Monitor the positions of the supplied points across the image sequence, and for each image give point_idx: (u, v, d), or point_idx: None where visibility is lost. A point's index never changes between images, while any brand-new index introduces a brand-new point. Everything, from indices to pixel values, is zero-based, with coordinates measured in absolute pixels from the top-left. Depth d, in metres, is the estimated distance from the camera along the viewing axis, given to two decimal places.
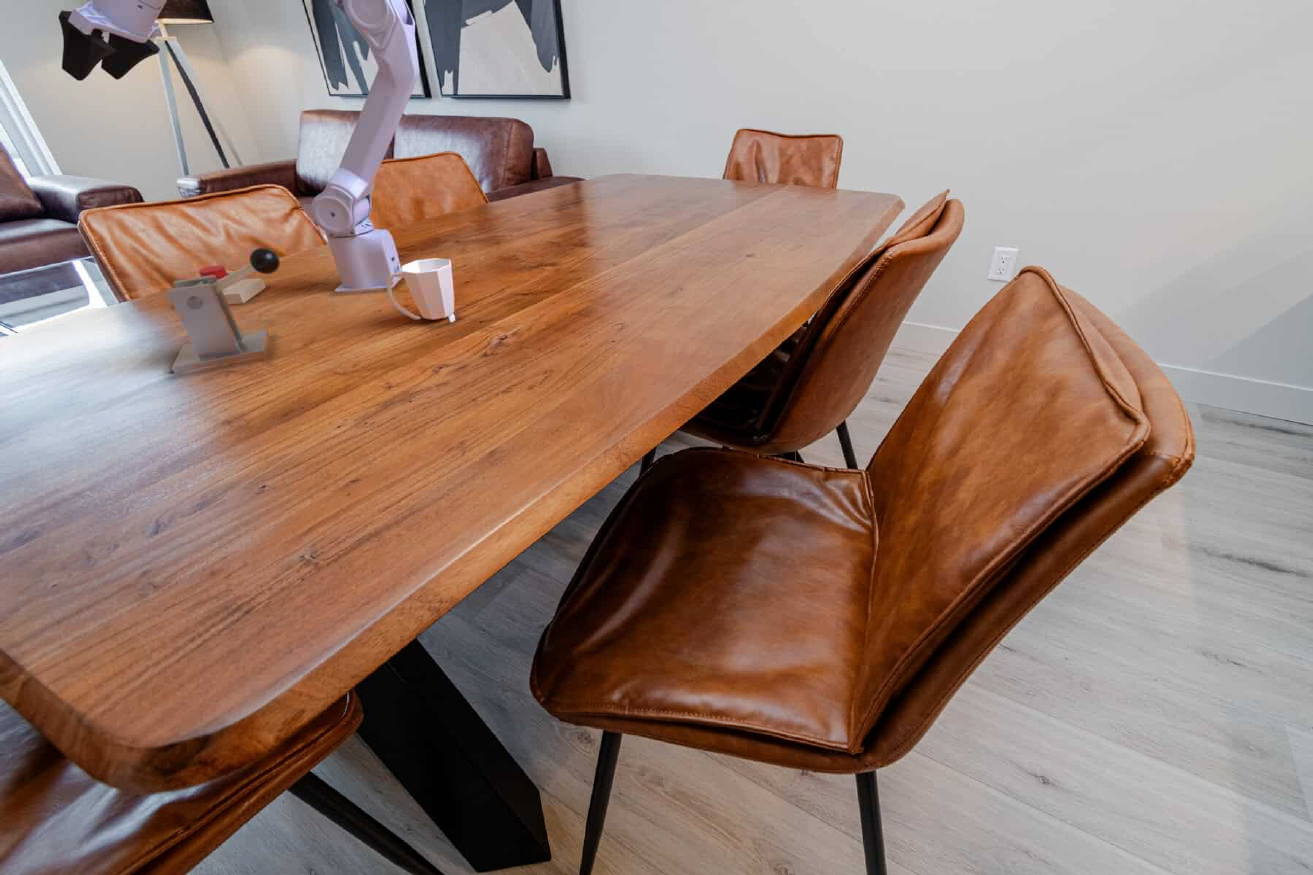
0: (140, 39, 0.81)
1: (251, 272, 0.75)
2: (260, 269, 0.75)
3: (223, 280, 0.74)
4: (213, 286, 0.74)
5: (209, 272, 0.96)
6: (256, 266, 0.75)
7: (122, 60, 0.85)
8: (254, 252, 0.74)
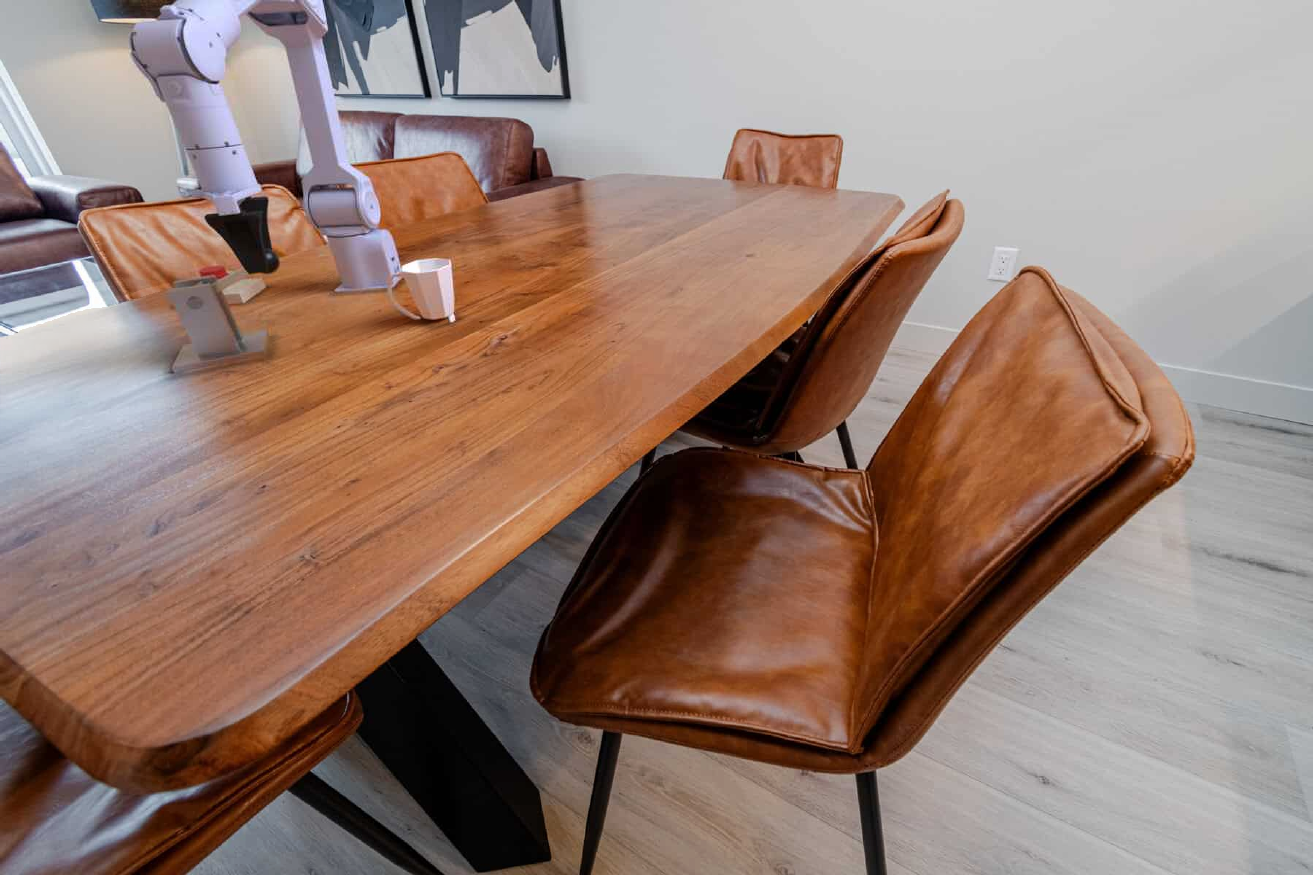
0: (259, 188, 0.72)
1: None
2: None
3: (223, 280, 0.74)
4: (213, 286, 0.74)
5: (209, 272, 0.96)
6: None
7: None
8: None
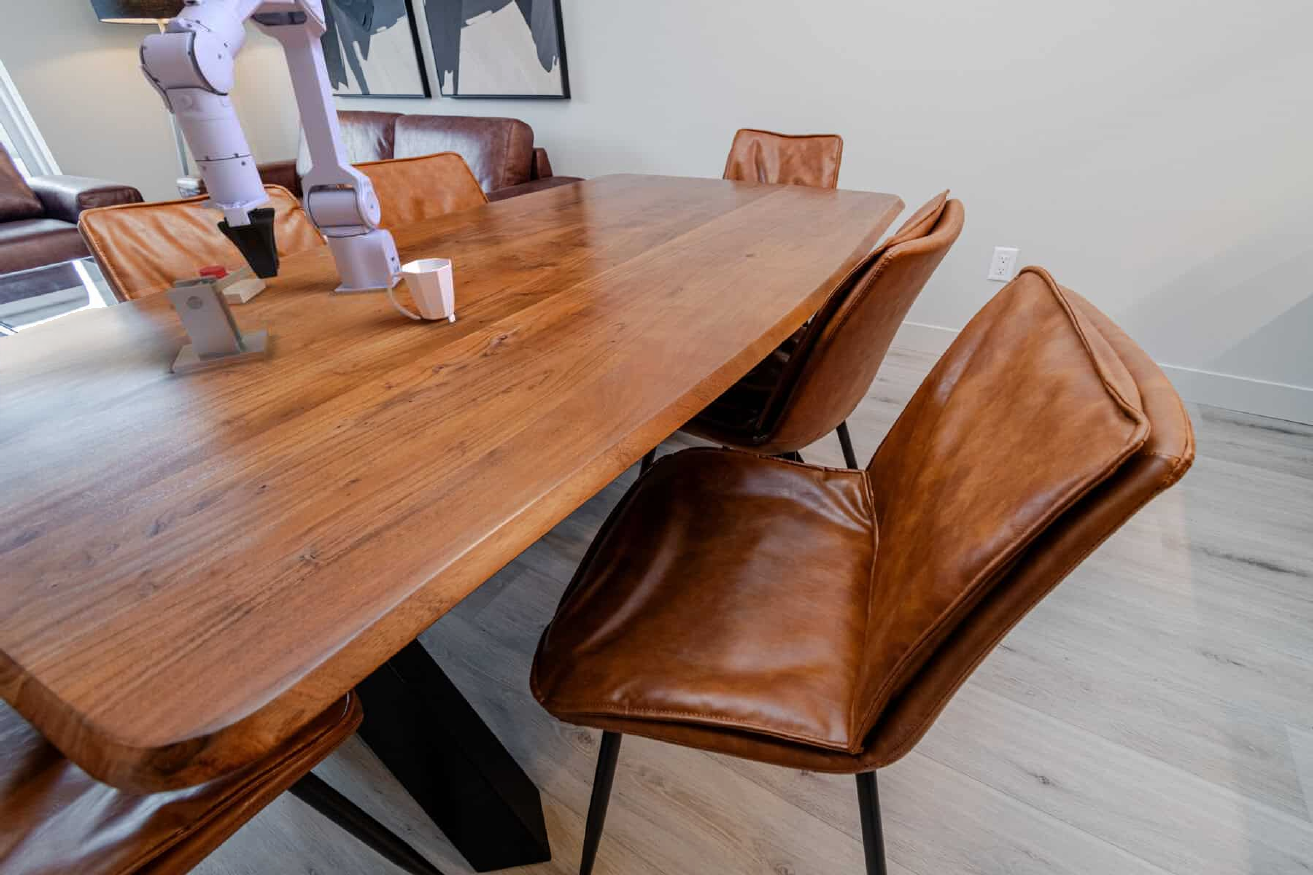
0: (267, 197, 0.72)
1: (251, 272, 0.75)
2: None
3: (223, 280, 0.74)
4: (213, 286, 0.74)
5: (209, 272, 0.96)
6: None
7: None
8: None
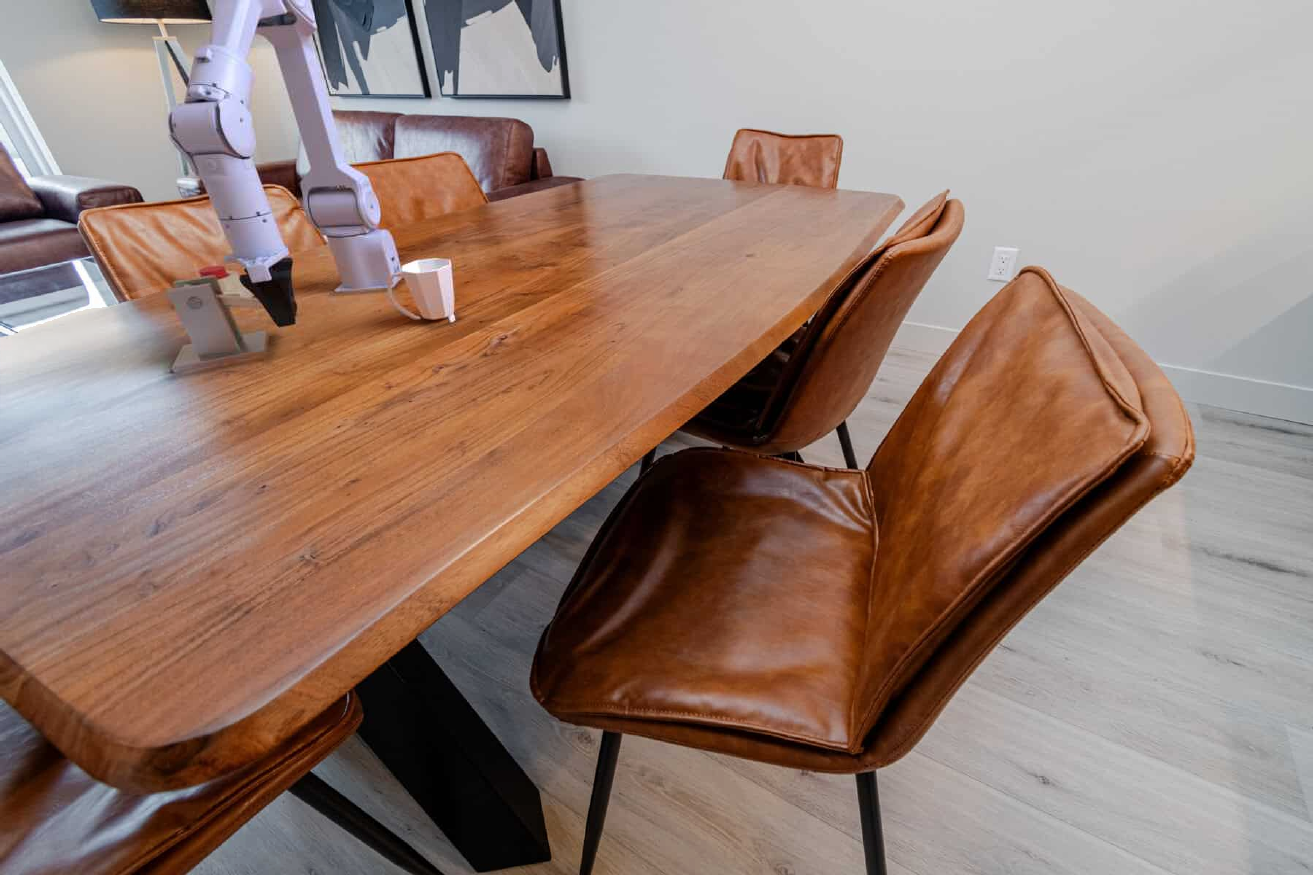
0: (286, 251, 0.76)
1: None
2: None
3: (234, 299, 0.76)
4: (221, 298, 0.75)
5: (209, 272, 0.96)
6: None
7: None
8: None
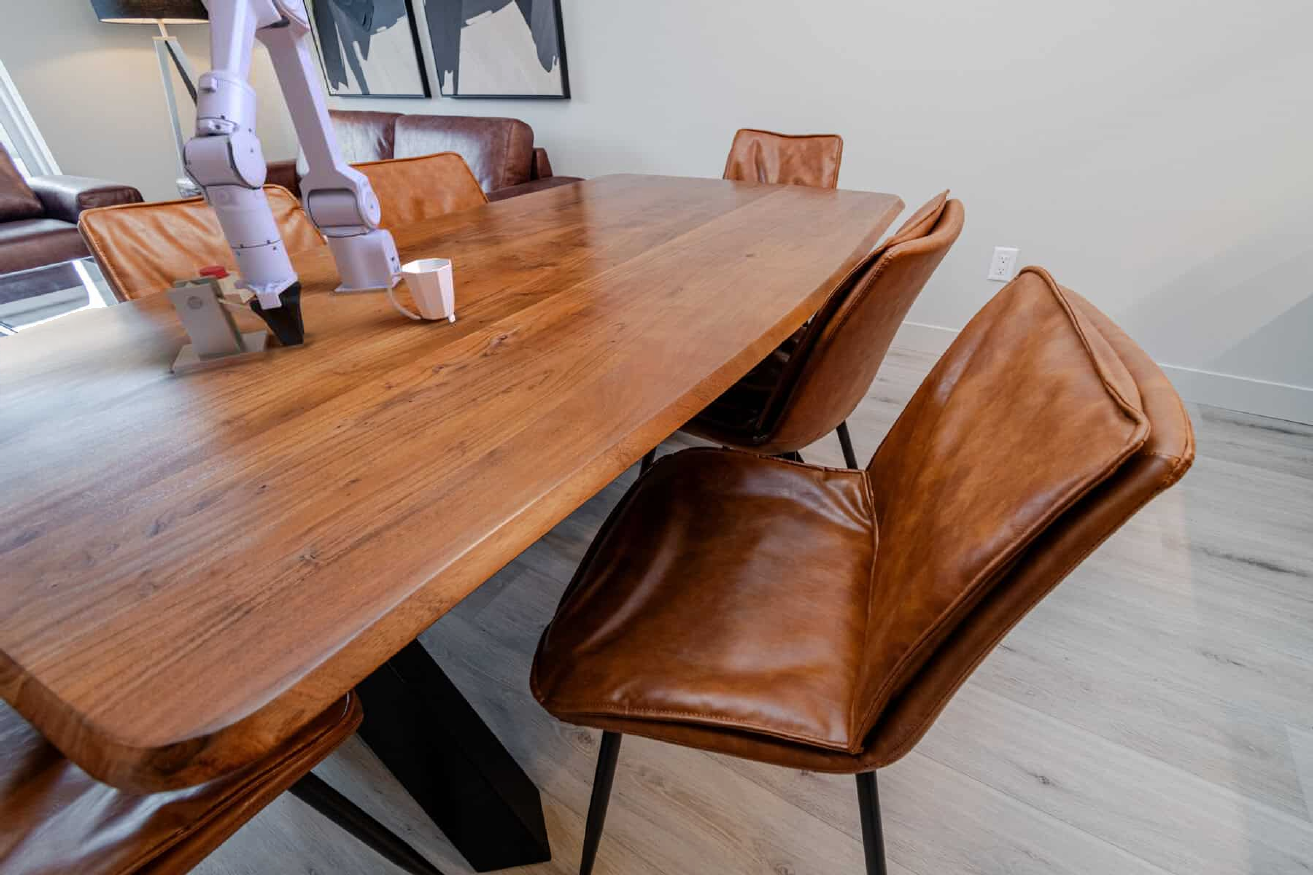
0: (295, 276, 0.77)
1: (262, 320, 0.78)
2: None
3: (234, 306, 0.76)
4: (221, 303, 0.75)
5: (209, 272, 0.96)
6: None
7: None
8: None
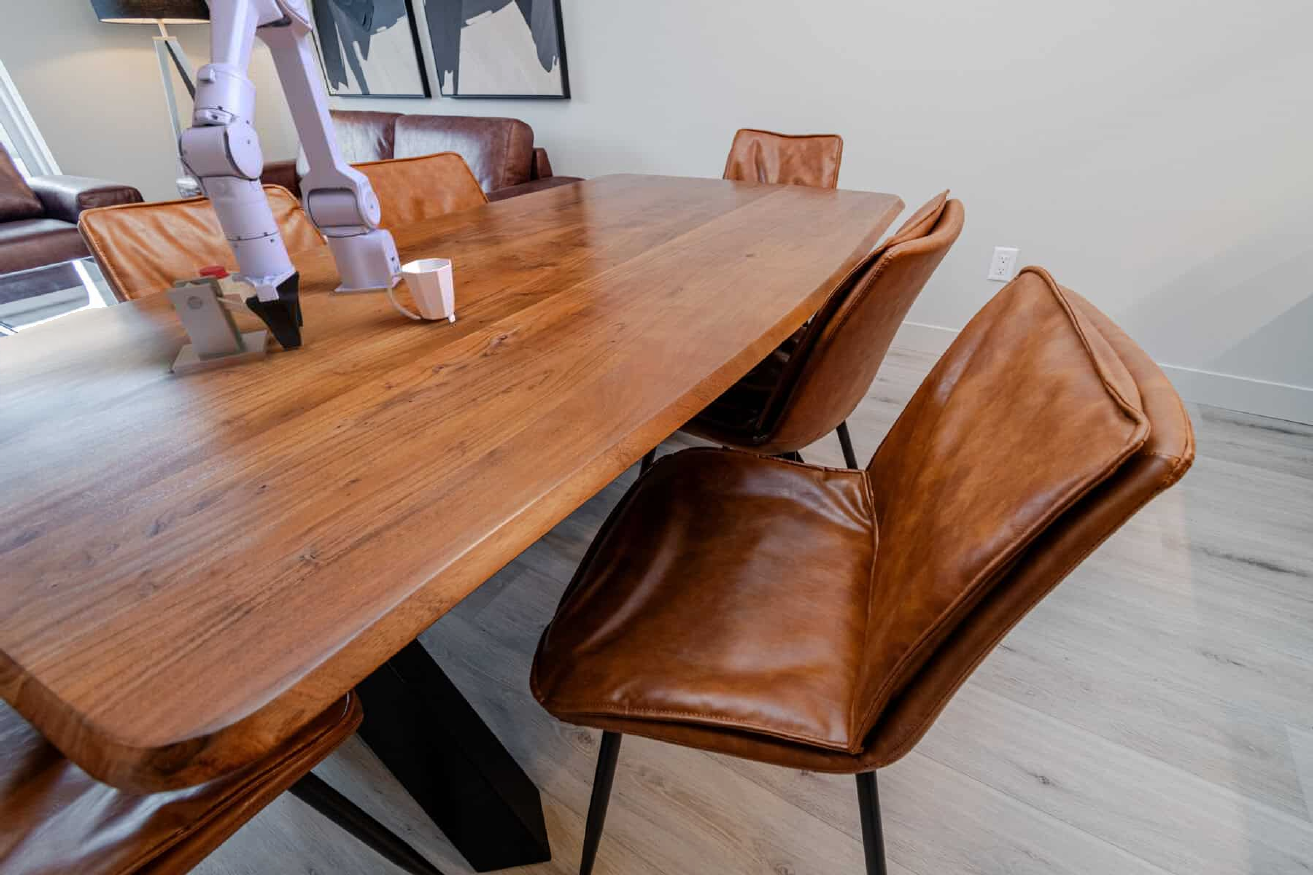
0: (293, 269, 0.77)
1: None
2: None
3: (234, 304, 0.76)
4: (221, 301, 0.75)
5: (209, 272, 0.96)
6: None
7: None
8: None
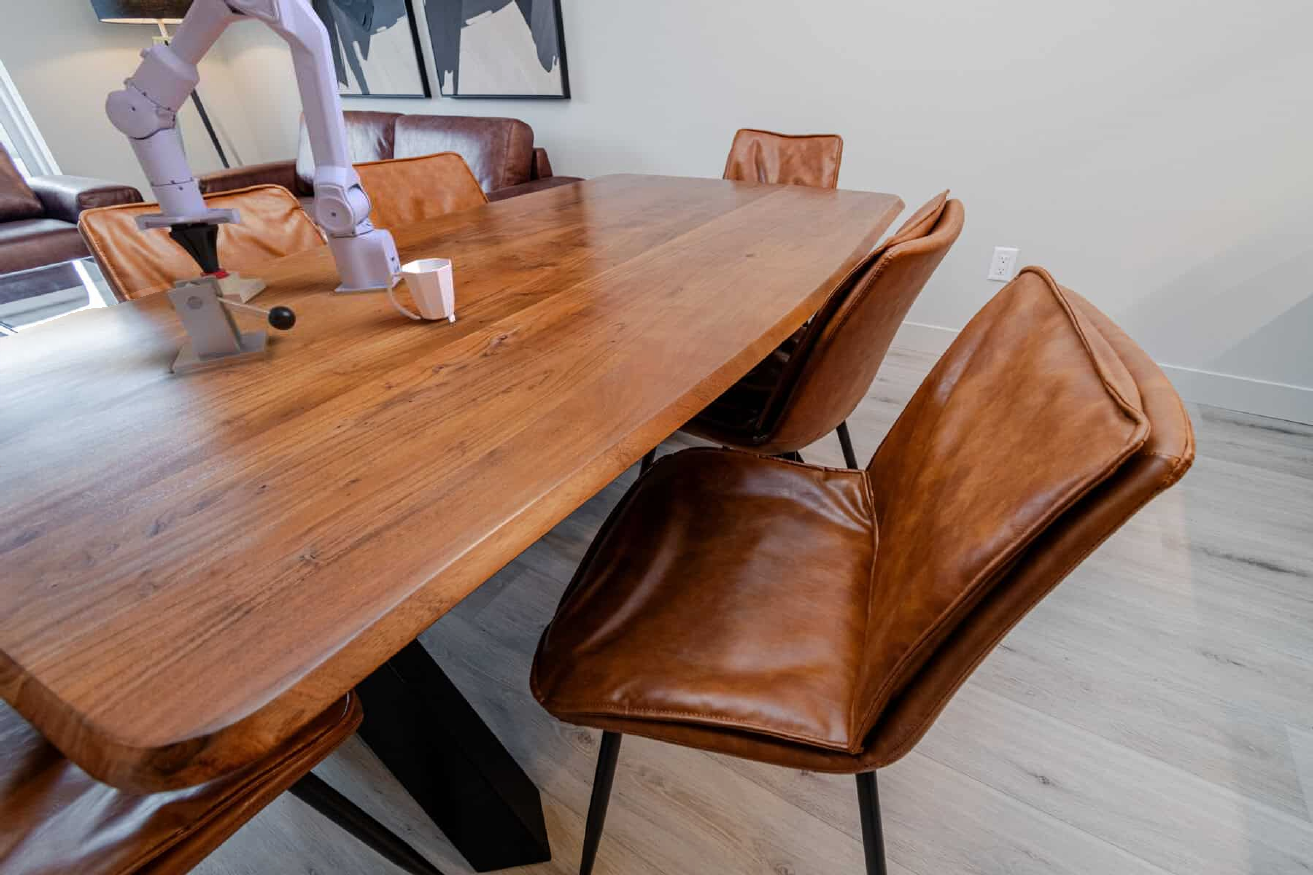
0: None
1: (263, 317, 0.78)
2: (273, 322, 0.78)
3: (234, 304, 0.76)
4: (221, 301, 0.75)
5: None
6: (273, 318, 0.78)
7: None
8: (283, 309, 0.79)
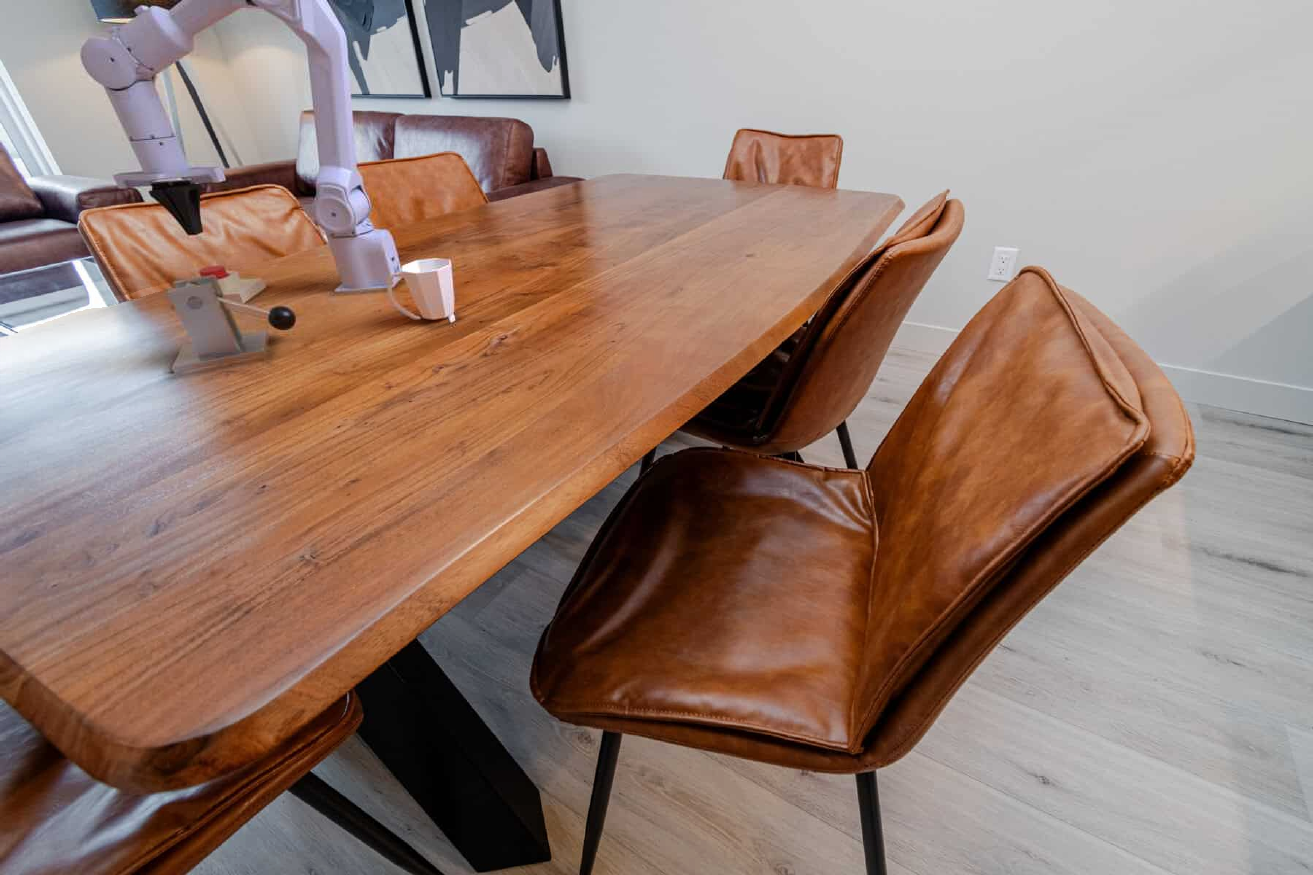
0: None
1: (263, 317, 0.78)
2: (273, 322, 0.78)
3: (234, 304, 0.76)
4: (221, 301, 0.75)
5: (209, 272, 0.96)
6: (273, 318, 0.78)
7: None
8: (283, 309, 0.79)
